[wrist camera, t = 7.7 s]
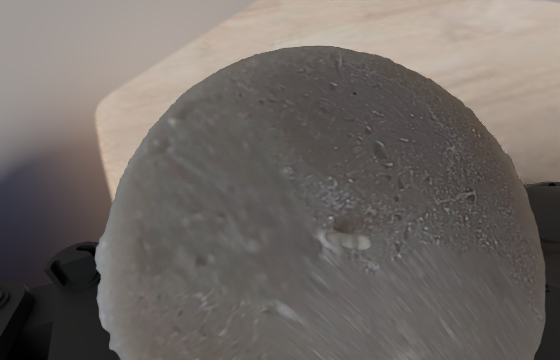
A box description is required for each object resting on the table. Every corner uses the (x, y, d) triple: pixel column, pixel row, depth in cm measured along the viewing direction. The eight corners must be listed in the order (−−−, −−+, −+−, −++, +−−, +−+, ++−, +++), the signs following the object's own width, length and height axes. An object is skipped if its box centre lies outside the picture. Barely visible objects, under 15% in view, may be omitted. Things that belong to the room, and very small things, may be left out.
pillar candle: (323, 152, 20) (475, -57, 5) (368, 272, 18) (774, 458, 4) (205, 190, 19) (-16, 64, 4) (243, 320, 17) (101, 841, 3)
